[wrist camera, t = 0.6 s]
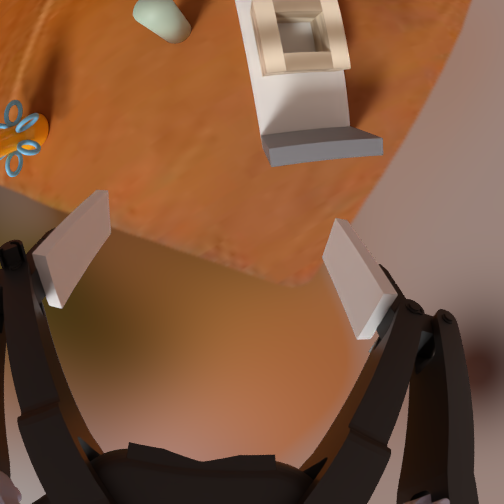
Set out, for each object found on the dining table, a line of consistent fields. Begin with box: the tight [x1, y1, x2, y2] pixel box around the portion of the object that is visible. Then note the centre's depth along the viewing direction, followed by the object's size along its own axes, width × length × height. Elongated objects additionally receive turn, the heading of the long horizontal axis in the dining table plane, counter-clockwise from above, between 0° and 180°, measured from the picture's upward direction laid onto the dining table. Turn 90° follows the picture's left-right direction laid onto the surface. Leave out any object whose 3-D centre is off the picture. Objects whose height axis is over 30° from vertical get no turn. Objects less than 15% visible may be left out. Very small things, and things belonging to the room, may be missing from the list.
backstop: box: [235, 0, 383, 167], centre depth 25 cm, size 26×13×11 cm, turn 9°
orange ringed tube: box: [0, 100, 49, 177], centre depth 25 cm, size 12×10×15 cm
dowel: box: [133, 0, 191, 43], centre depth 22 cm, size 4×4×12 cm
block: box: [250, 0, 351, 77], centre depth 25 cm, size 10×10×6 cm
